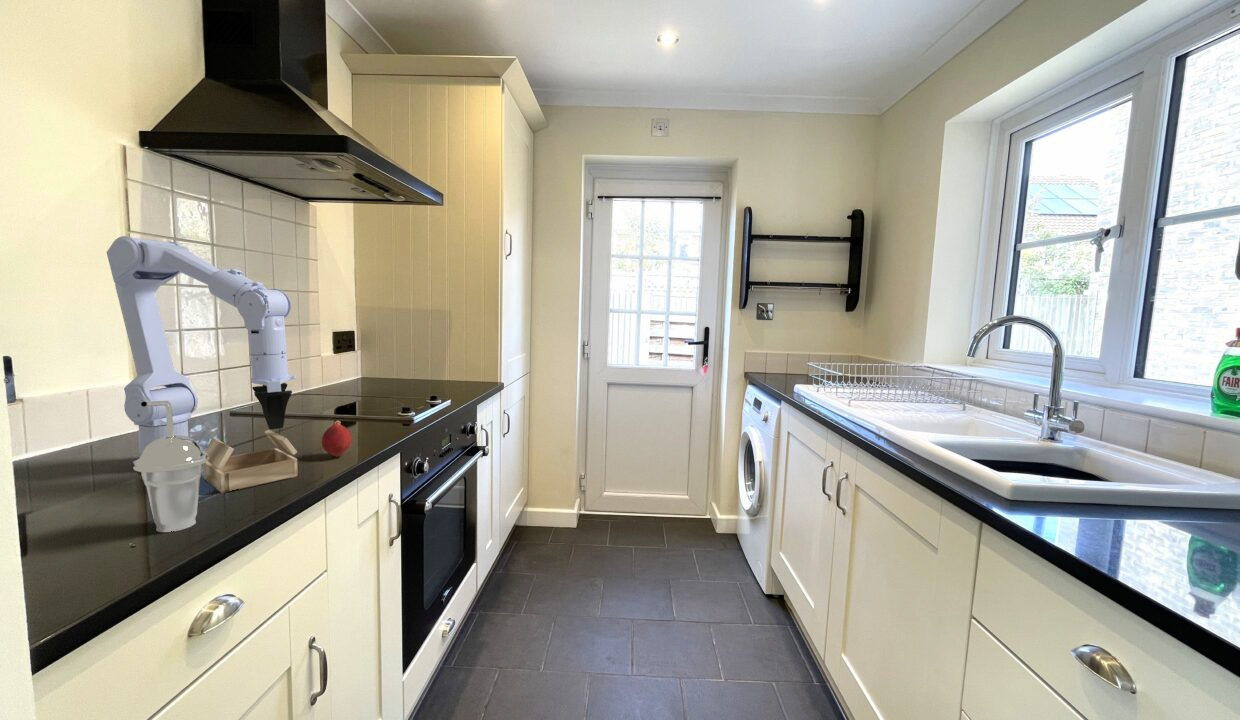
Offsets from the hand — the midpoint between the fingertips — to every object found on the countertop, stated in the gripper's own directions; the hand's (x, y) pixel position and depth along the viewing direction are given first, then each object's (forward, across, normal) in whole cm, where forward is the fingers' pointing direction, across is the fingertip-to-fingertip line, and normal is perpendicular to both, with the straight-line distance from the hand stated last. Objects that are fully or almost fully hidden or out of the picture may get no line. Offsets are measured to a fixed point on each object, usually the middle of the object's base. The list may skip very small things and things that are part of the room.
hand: (274, 424), depth 97 cm
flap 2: (+4, +3, -1) cm, 5 cm away
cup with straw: (+10, -17, +14) cm, 24 cm away
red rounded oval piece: (+10, +8, -11) cm, 17 cm away
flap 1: (+4, 0, +8) cm, 9 cm away
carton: (+10, +2, +4) cm, 11 cm away
